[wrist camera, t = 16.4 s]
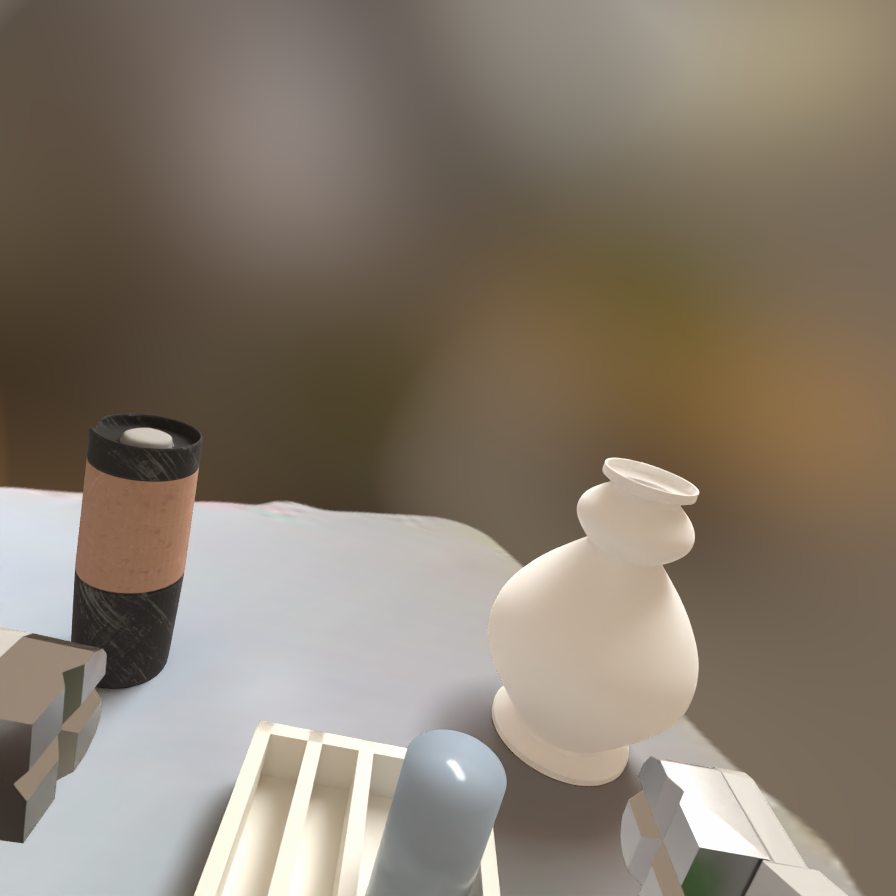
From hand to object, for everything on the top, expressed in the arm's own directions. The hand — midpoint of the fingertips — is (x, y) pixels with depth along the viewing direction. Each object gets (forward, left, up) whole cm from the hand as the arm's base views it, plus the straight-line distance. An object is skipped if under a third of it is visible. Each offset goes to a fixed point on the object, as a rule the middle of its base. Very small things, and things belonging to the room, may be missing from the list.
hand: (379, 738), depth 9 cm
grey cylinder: (+6, +19, -29) cm, 35 cm away
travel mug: (-18, +37, -30) cm, 51 cm away
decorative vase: (+20, +39, -30) cm, 53 cm away
